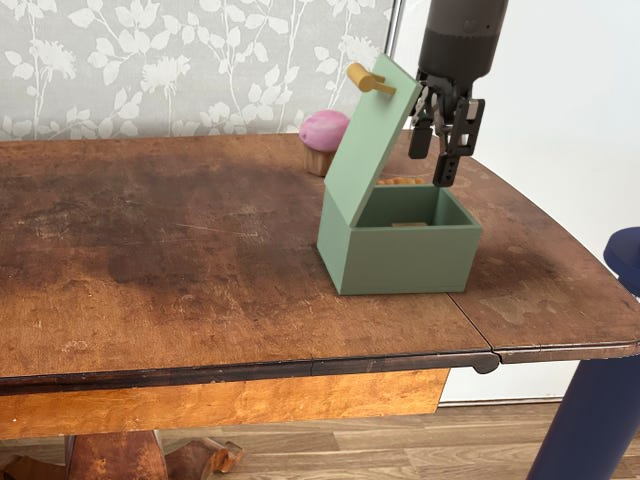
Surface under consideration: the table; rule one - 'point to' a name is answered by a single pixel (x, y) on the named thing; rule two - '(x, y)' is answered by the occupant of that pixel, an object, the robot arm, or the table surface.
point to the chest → (400, 242)
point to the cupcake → (322, 139)
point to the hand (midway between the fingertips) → (428, 171)
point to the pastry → (400, 181)
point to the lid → (370, 133)
